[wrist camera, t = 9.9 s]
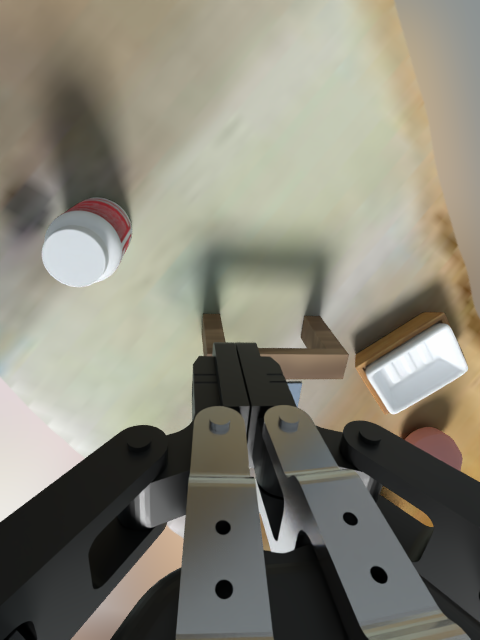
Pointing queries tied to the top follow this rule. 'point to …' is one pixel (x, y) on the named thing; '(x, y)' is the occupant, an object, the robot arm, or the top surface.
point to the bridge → (293, 350)
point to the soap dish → (411, 362)
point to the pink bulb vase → (437, 445)
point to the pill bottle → (87, 242)
